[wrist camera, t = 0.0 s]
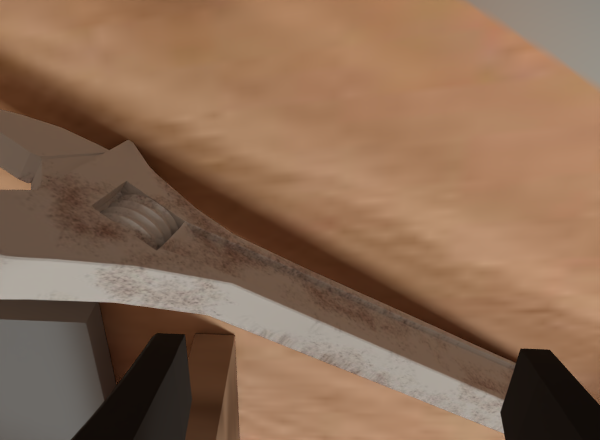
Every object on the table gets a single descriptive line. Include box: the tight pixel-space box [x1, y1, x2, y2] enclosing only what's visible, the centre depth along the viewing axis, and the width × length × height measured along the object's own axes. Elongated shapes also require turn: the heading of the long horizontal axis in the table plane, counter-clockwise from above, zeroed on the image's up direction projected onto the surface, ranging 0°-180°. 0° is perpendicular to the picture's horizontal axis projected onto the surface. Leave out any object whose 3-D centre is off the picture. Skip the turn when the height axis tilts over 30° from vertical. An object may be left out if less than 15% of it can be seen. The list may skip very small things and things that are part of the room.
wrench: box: [0, 109, 516, 433], centre depth 21 cm, size 8×2×30 cm
